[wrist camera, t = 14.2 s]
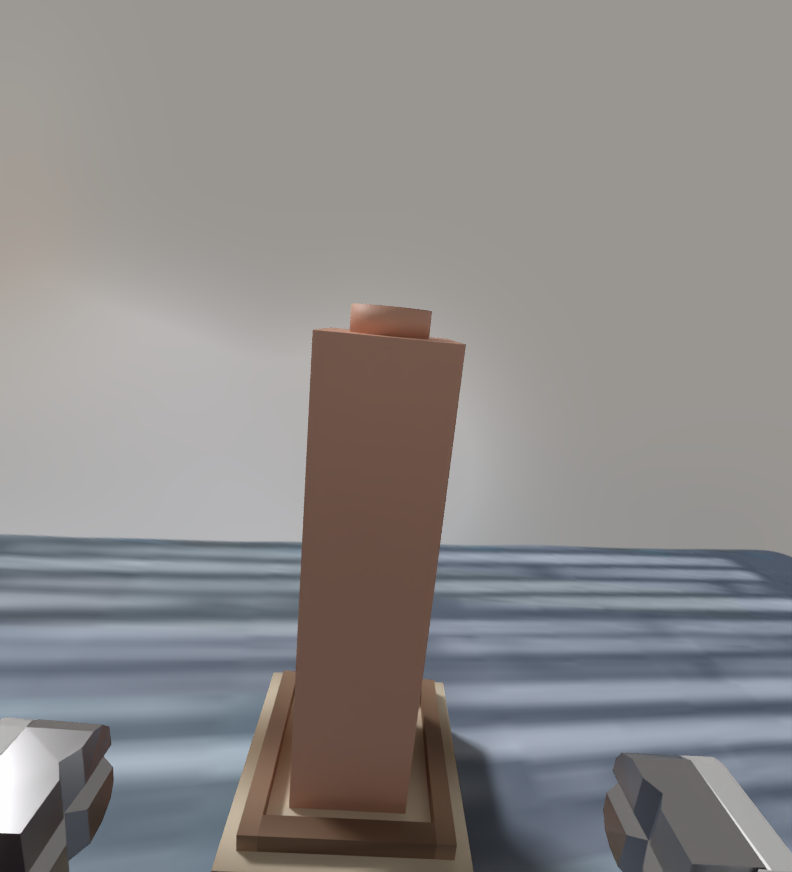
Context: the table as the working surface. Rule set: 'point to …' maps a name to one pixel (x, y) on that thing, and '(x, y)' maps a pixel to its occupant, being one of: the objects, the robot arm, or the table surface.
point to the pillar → (369, 553)
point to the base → (345, 830)
